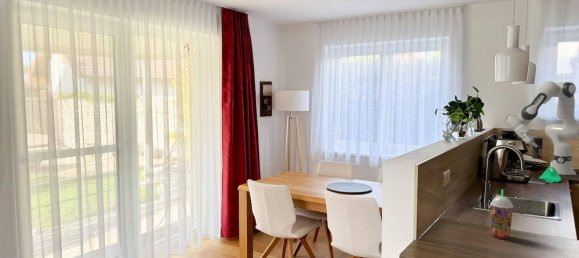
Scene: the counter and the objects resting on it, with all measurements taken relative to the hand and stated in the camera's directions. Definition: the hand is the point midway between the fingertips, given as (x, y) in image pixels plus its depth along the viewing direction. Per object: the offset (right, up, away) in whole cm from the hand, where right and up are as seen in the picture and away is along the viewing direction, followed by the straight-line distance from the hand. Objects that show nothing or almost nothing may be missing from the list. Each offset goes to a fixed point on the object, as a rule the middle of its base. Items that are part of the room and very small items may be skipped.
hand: (538, 146), depth 281 cm
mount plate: (-7, -25, -10) cm, 28 cm away
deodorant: (-1, -9, +1) cm, 9 cm away
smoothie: (-93, -33, -119) cm, 155 cm away
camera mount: (+4, -25, -6) cm, 26 cm away
